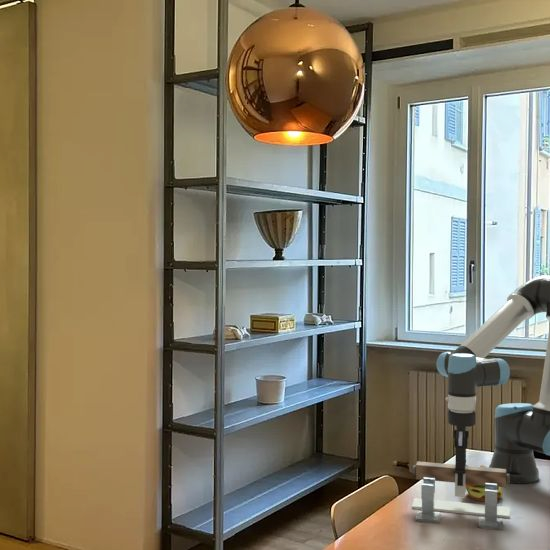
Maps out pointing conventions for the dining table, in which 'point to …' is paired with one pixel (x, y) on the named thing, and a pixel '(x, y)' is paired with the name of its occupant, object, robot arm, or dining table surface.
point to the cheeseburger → (480, 491)
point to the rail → (471, 477)
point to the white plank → (462, 508)
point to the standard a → (428, 502)
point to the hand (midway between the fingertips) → (460, 493)
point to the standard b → (490, 509)
